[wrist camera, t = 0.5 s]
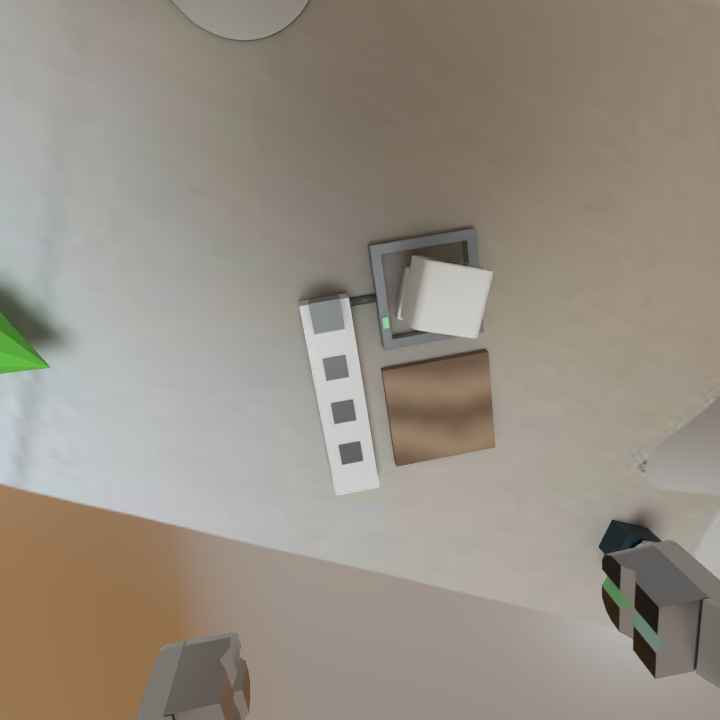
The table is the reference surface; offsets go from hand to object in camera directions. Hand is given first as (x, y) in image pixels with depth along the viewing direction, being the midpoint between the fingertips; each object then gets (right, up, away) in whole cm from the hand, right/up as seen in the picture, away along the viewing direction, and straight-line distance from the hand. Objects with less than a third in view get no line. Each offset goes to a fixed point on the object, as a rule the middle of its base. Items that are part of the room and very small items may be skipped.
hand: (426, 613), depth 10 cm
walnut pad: (+8, 0, +45) cm, 46 cm away
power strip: (-2, +2, +43) cm, 44 cm away
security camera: (+6, +13, +41) cm, 44 cm away
